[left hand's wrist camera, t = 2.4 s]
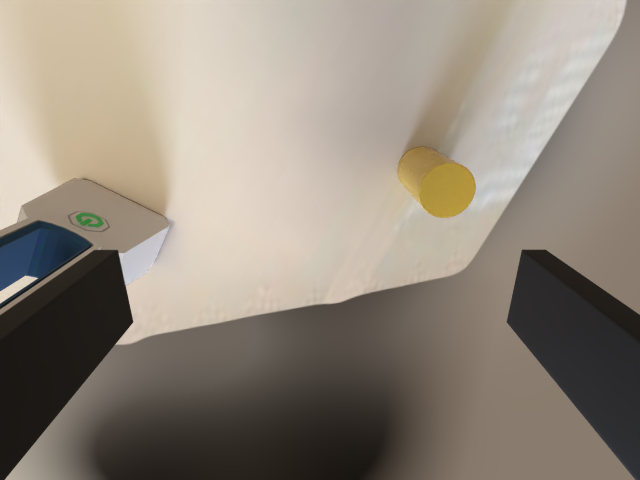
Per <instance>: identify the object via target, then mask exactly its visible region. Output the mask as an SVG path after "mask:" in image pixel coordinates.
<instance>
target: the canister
mask: <svg viewBox="0 0 640 480" xmlns="http://www.w3.org/2000/svg"><path fill="white" fill-rule="evenodd" d="M398 177H399V180H400V182H401V183H402V184H403V185H404V186H405V188H406V189H407V190H408V191H409V192H410V193H411V195H412V196H413V197H414V198H415V199H416V200H417V201H418V203H419V204H420V205H421V206H422V207H423V208H424V209H425V210H426V211H427V212H428V213H429V214H431V215H433V216H436V217H440V218H447V217H452V216H455V215H457V214H459V213H461V212H462V211H463V210H465V209H466V208H467V207H468V206H469V204H470V203H471V201H472V199H473V197H474V194H475V180H474V177H473V175H472V174H471V172H470V171H469V170H468V169H467V168H466V167H464V166H462V165H460V164H459V163H457V162H455V161H453V160H451V159H449V158H447V157H445V156H443V155H442V154H440V153H438V152H436V151H434V150H432V149H430V148H427V147H417V148H413V149H411V150H409V151H408V152H407V153H405V154H404V156H403V157H402V158H401V160H400V162H399V165H398Z"/></svg>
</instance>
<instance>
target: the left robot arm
mask: <svg viewBox="0 0 640 480" xmlns="http://www.w3.org/2000/svg"><path fill="white" fill-rule="evenodd" d="M132 323H133V319H132V314H131V309H130V305H129V300H128V295H127V290H126V286H125V281H124V276H123V271H122V267H121V262H120V257H119V252H118V250H93V251H92V252H90V253H89V254H88V255H86V256H85V257H83V258H82V259H80V260H79V261H77V262H76V263H75V264H73V265H72V266H70V267H69V268H67V269H66V270H64V271H63V272H62V273H60V274H59V275H57V276H56V277H54V278H53V279H51V280H50V281H49V282H47V283H46V284H44V285H43V286H41V287H40V288H38V289H37V290H36V291H34V292H33V293H31V294H30V295H28V296H27V297H25V298H24V299H23V300H21V301H20V302H18V303H17V304H15V305H14V306H12V307H11V308H10V309H8V310H7V311H5V312H4V313H2V314H1V315H0V480H5V478H6V477H7V476H8V475H9V474H10V472H11V471H12V470H13V469H14V467H15V466H16V465H17V464H18V463H19V461H20V460H21V459H22V458H23V456H24V455H25V454H26V453H27V452H28V450H29V449H30V448H31V447H32V445H33V444H34V443H35V442H36V441H37V439H38V438H39V437H40V436H41V434H42V433H43V432H44V431H45V430H46V428H47V427H48V426H49V425H50V423H51V422H52V421H53V420H54V419H55V417H56V416H57V415H58V414H59V412H60V411H61V410H62V409H63V407H64V406H65V405H66V404H67V403H68V401H69V400H70V399H71V398H72V396H73V395H74V394H75V393H76V391H77V390H78V389H79V388H80V387H81V385H82V384H83V383H84V382H85V381H86V379H87V378H88V377H89V376H90V374H91V373H92V372H93V371H94V370H95V368H96V367H97V366H98V365H99V363H100V362H101V361H102V360H103V359H104V357H105V356H106V355H107V354H108V352H109V351H110V350H111V349H112V348H113V346H114V345H115V344H116V343H117V341H118V340H119V339H120V338H121V337H122V335H123V334H124V333H125V332H126V330H127V329H128V328H129V327H130V326H131V324H132ZM507 323H508V324H509V325H510V327H511V328H512V329H513V330H514V332H515V333H516V334H517V335H518V337H519V338H520V339H521V340H522V341H523V343H524V344H525V345H526V346H527V348H528V349H529V350H530V351H531V352H532V354H533V355H534V356H535V357H536V358H537V360H538V361H539V362H540V363H541V365H542V366H543V367H544V368H545V370H546V371H547V372H548V373H549V374H550V376H551V377H552V378H553V379H554V381H555V382H556V383H557V384H558V385H559V387H560V388H561V389H562V390H563V392H564V393H565V394H566V395H567V396H568V398H569V399H570V400H571V401H572V403H573V404H574V405H575V406H576V408H577V409H578V410H579V411H580V412H581V414H582V415H583V416H584V417H585V418H586V420H587V421H588V422H589V423H590V425H591V426H592V427H593V428H594V430H595V431H596V432H597V433H598V434H599V436H600V437H601V438H602V439H603V441H604V442H605V443H606V444H607V445H608V447H609V448H610V449H611V450H612V452H613V453H614V454H615V455H616V456H617V458H618V459H619V460H620V461H621V463H622V464H623V465H624V466H625V467H626V469H627V470H628V471H629V472H630V474H631V475H632V476H633V477H634V478H635V480H640V315H639V314H638V313H636V312H635V311H633V310H632V309H630V308H629V307H628V306H626V305H625V304H623V303H622V302H620V301H619V300H617V299H616V298H614V297H613V296H612V295H610V294H609V293H607V292H606V291H604V290H603V289H602V288H600V287H599V286H597V285H596V284H594V283H593V282H591V281H590V280H588V279H587V278H586V277H584V276H583V275H581V274H580V273H578V272H577V271H575V270H574V269H573V268H571V267H570V266H568V265H567V264H565V263H564V262H562V261H561V260H560V259H558V258H557V257H555V256H554V255H552V254H551V253H550V252H548V251H547V250H522V252H521V257H520V262H519V267H518V271H517V276H516V281H515V286H514V290H513V295H512V300H511V305H510V309H509V314H508V319H507Z"/></svg>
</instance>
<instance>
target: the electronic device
mask: <svg viewBox="0 0 640 480" xmlns="http://www.w3.org/2000/svg"><path fill="white" fill-rule="evenodd" d="M169 227H170V224H169V222H168V221H167V219H166V218H165V217H163V216H161V215H159V214H157V213H155V212H153V211H151V210H149V209H147V208H145V207H143V206H141V205H139V204H136V203H134V202H132V201H130V200H128V199H126V198H124V197H122V196H120V195H118V194H116V193H114V192H112V191H110V190H108V189H106V188H104V187H102V186H100V185H98V184H96V183H94V182H92V181H89V180H82V179H75V178H74V179H72V180H70V181H68V182H66V183H64V184H62V185H61V186H59V187H57V188H55V189H53V190H51V191H49V192H47V193H45V194H43V195H41V196H39V197H37V198H35V199H34V200H32V201H30V202H28V203H26V204H24V205H22V206H21V209H20V213H19V217H18V220H17V223H16V224H13V225H11V226H9V227H7V228H4V229H2V230H0V291H1V290H3V289H5V288H6V287H8V286H9V285H11V284H13V283H14V282H16V281H17V280H19V279H21V278H22V277H24V276H25V275H26V276H31V277H36V278H38V279H37V280H35V281H34V282H32V283H31V284H29V285H28V286H26V287H25V288H23V289H22V290H20V291H19V292H17V293H16V294H14V295H13V296H11V297H10V298H8V299H7V300H5V301H4V302H2V303H1V304H0V315H1V314H2V313H4V312H5V311H7V310H8V309H10V308H11V307H12V306H14V305H15V304H17V303H18V302H20V301H21V300H23V299H24V298H25V297H27V296H28V295H30V294H31V293H33V292H34V291H36V290H37V289H38V288H40V287H41V286H43V285H44V284H46V283H47V282H49V281H50V280H51V279H53V278H54V277H56V276H57V275H59V274H60V273H62V272H63V271H64V270H66V269H67V268H69V267H70V266H72V265H73V264H75V263H76V262H77V261H79V260H80V259H82V258H83V257H85V256H86V255H88V254H89V253H90V252H92V251H93V250H118V252H119V257H120V262H121V267H122V271H123V276H124V281H125V286H127V285H128V284H130V283H131V282H133V281H134V280H136V279H137V278H139V277H140V276H142V275H143V274H145V273H146V272H147V271H148V269H149V268H150V267H151V266H152V264H153V263H154V262H155V259H156V257H157V255H158V253H159V250H160V248H161V246H162V243H163V241H164V239H165V236H166V234H167V232H168V230H169Z"/></svg>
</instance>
